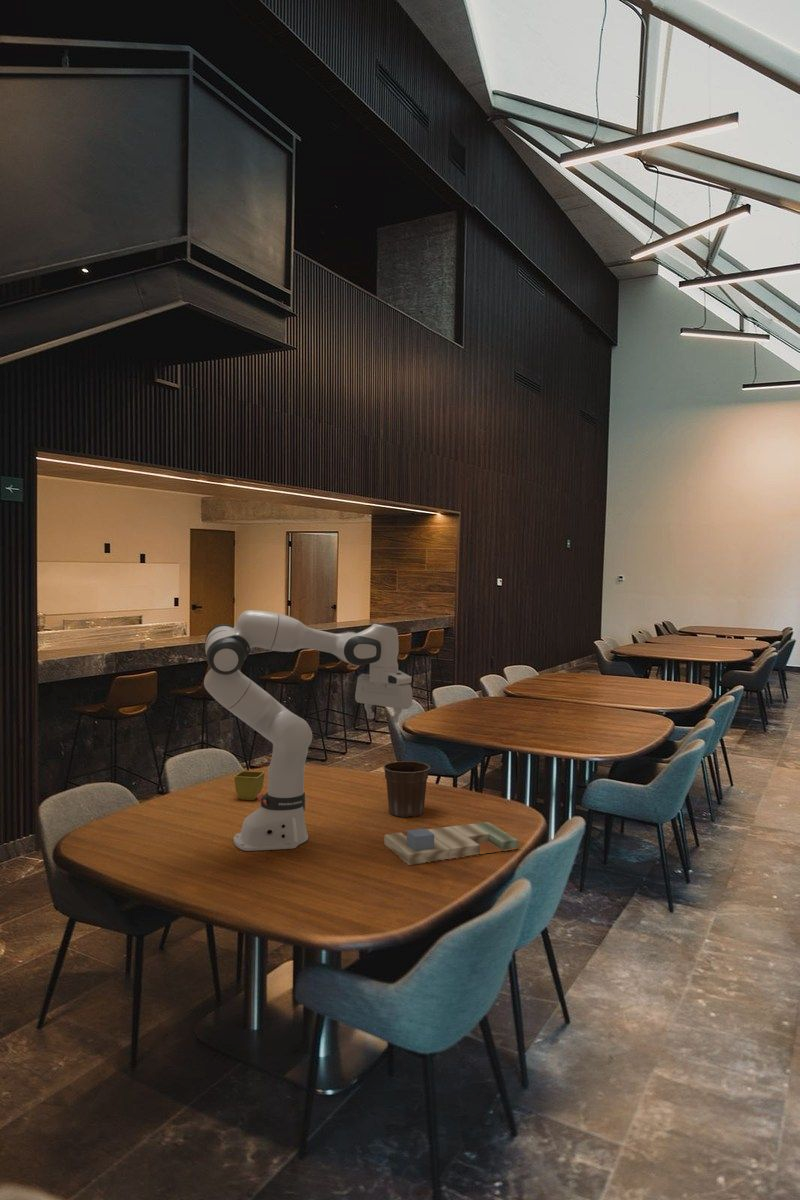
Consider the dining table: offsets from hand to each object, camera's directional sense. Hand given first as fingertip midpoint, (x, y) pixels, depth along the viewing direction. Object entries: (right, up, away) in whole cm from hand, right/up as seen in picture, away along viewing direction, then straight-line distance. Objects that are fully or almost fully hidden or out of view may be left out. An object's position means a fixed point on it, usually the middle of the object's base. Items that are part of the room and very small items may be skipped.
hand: (382, 720), depth 236 cm
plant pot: (+7, -37, +28) cm, 47 cm away
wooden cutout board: (+21, -38, -5) cm, 43 cm away
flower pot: (-49, -35, +41) cm, 73 cm away
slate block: (+11, -35, -13) cm, 39 cm away
